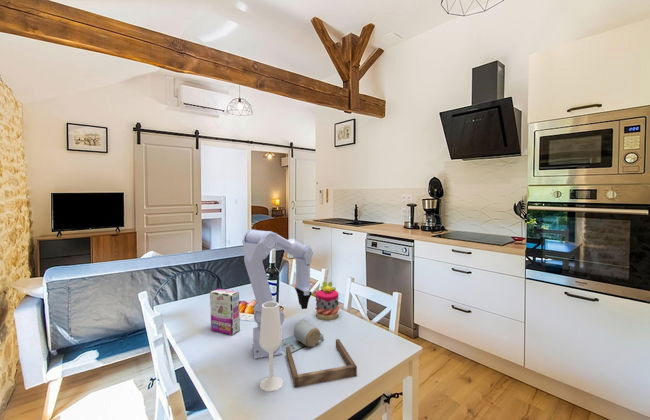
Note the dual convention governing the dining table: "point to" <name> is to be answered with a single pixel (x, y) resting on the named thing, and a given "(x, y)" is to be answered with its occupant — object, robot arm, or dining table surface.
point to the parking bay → (323, 374)
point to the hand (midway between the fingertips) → (303, 306)
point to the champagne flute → (270, 341)
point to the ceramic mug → (307, 333)
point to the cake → (327, 302)
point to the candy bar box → (225, 311)
